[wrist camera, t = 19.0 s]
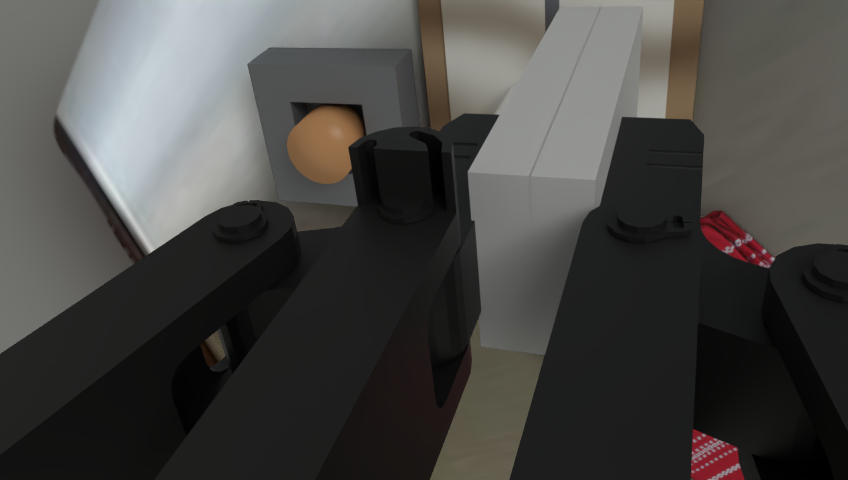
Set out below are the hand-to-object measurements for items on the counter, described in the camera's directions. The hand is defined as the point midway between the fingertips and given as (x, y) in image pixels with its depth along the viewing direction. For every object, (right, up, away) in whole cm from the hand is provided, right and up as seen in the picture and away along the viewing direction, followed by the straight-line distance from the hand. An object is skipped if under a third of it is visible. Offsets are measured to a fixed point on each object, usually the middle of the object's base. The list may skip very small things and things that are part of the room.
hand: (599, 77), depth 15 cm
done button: (-9, +4, +36) cm, 37 cm away
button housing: (-8, +5, +37) cm, 39 cm away
